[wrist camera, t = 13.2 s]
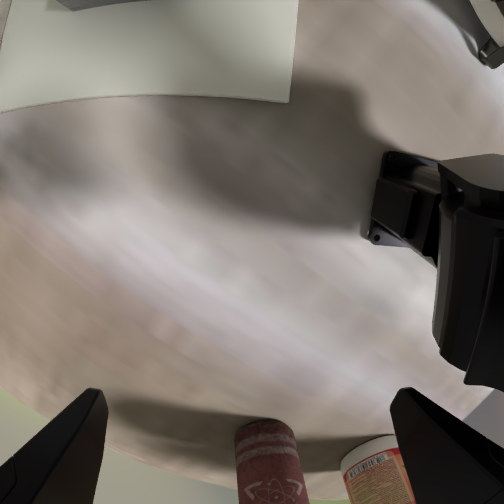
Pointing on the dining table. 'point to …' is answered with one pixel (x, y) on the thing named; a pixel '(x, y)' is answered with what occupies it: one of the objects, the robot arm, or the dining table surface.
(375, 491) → the fruit juice
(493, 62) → the coffee press
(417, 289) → the dining table surface
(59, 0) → the square socket
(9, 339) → the dining table surface
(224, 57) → the socket board
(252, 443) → the can
